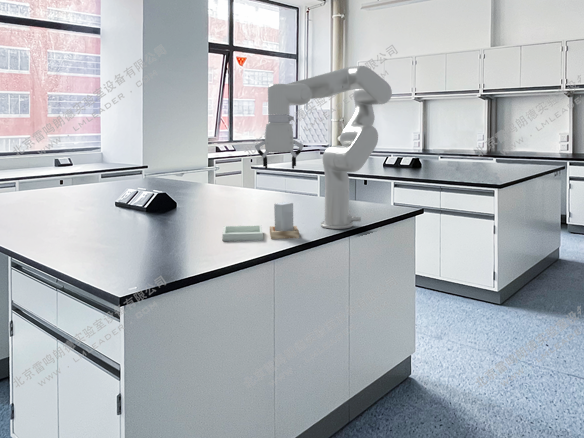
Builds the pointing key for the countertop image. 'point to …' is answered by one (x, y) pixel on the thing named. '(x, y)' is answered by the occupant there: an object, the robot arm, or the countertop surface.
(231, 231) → the tray
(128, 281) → the countertop surface
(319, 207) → the countertop surface
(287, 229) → the skincare box
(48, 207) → the countertop surface
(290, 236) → the wooden square frame
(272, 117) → the robot arm
